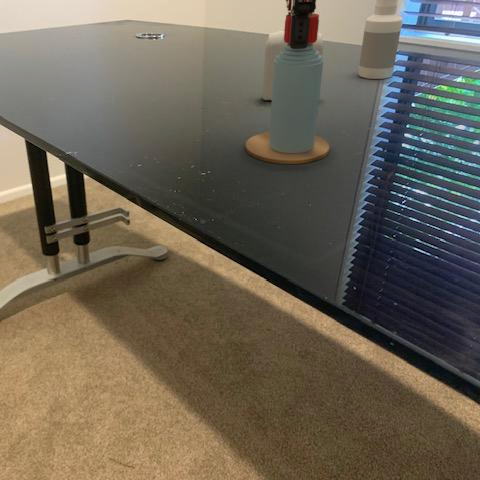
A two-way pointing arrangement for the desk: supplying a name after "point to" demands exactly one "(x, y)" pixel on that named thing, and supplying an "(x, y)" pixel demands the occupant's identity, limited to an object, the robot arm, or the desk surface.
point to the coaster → (262, 151)
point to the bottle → (295, 99)
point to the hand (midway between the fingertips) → (296, 44)
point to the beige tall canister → (380, 41)
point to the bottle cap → (312, 28)
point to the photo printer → (271, 51)
